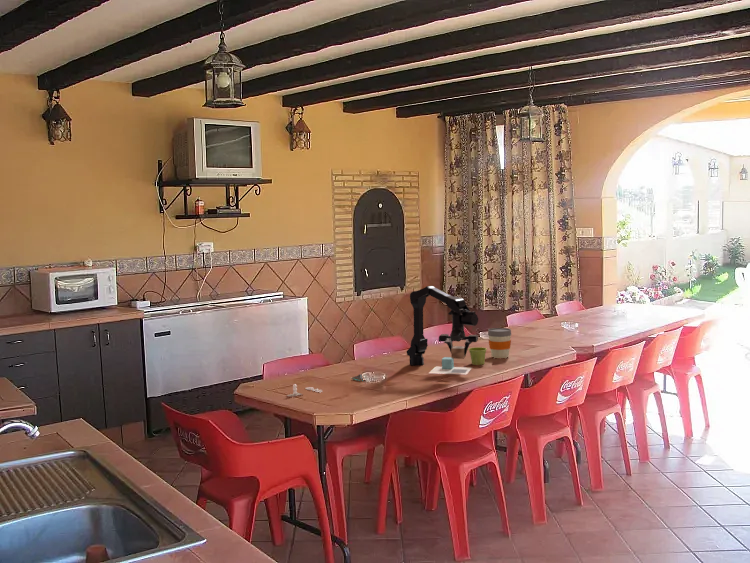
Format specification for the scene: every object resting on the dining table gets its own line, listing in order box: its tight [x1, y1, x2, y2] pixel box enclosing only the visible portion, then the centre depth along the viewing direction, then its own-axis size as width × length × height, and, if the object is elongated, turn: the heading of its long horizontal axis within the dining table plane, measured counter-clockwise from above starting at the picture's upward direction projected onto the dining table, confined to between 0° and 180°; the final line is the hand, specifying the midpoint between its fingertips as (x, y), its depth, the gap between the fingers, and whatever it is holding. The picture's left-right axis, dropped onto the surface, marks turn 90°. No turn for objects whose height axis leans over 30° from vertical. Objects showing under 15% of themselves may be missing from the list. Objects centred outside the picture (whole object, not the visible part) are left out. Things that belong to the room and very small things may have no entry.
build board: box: [428, 365, 473, 376], centre depth 379 cm, size 19×16×1 cm
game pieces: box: [285, 373, 364, 399], centre depth 357 cm, size 45×13×6 cm, turn 131°
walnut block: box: [450, 345, 467, 360], centre depth 376 cm, size 6×6×5 cm
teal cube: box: [441, 356, 455, 369], centre depth 385 cm, size 5×5×5 cm
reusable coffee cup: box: [487, 327, 512, 359], centre depth 412 cm, size 13×13×15 cm
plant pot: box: [467, 346, 488, 366], centre depth 393 cm, size 9×9×9 cm
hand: (458, 355), depth 376 cm, fingers closed on walnut block, 6 cm apart
